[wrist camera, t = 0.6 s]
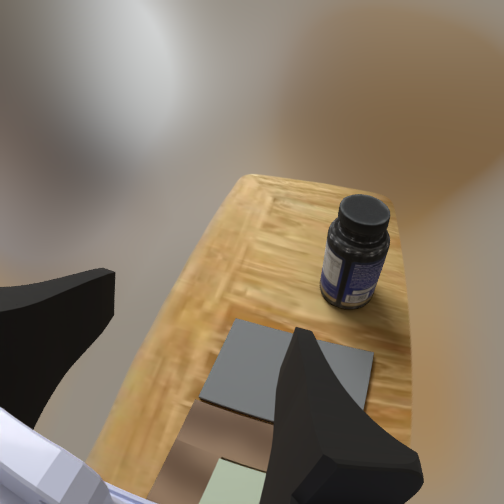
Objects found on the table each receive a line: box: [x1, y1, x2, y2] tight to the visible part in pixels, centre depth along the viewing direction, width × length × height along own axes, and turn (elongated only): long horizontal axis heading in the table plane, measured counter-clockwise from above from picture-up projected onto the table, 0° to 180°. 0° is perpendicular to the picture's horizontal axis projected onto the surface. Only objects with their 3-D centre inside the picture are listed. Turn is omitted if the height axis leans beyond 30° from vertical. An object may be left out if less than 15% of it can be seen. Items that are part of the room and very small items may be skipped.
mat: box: [199, 318, 374, 423], centre depth 27 cm, size 9×14×1 cm, turn 70°
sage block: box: [199, 458, 266, 504], centre depth 17 cm, size 4×4×6 cm
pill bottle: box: [320, 194, 390, 309], centre depth 31 cm, size 6×6×11 cm
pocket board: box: [147, 399, 274, 504], centre depth 19 cm, size 14×14×1 cm
